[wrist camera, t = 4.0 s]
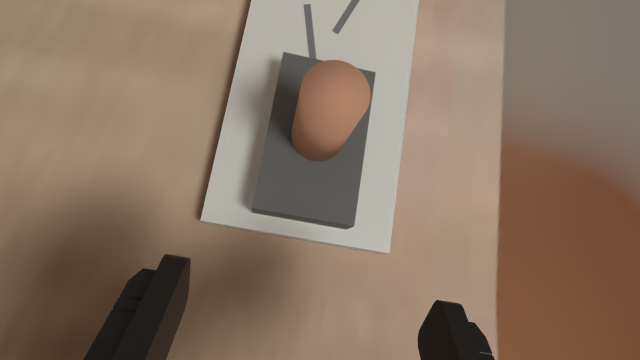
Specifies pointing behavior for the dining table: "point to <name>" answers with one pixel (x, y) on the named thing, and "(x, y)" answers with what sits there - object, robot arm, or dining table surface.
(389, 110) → the marked board
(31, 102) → the dining table surface
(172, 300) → the robot arm
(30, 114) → the dining table surface
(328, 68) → the sanding block
